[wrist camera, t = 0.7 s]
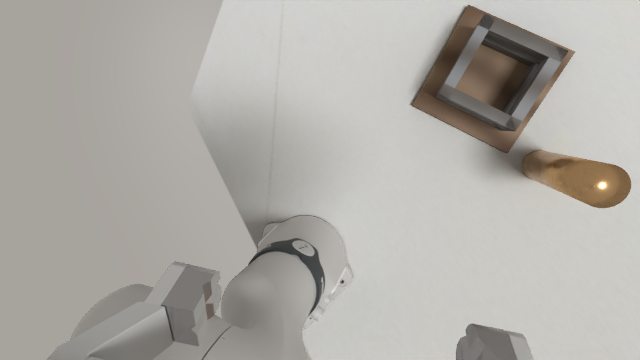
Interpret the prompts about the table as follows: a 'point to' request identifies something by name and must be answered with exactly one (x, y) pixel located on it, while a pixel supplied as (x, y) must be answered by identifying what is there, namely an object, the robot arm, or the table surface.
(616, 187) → the copper tube
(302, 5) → the table surface
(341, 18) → the table surface
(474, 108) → the collar stand
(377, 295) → the table surface
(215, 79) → the table surface
